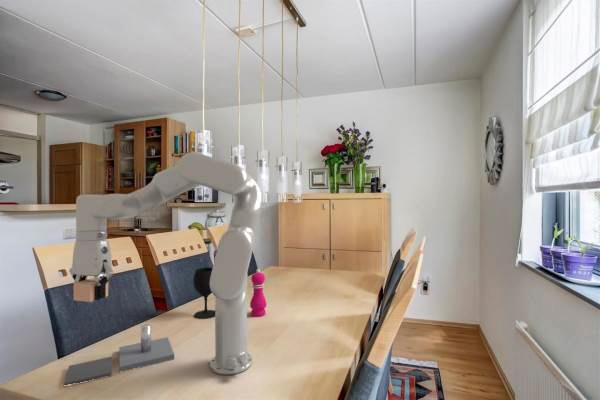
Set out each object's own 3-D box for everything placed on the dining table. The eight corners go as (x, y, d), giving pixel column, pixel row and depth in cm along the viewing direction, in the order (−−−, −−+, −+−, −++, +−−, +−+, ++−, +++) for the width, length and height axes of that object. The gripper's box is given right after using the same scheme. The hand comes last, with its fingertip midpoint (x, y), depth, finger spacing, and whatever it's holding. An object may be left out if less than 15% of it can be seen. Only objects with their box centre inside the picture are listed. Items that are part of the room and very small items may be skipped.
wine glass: (209, 309, 146) (208, 266, 147) (222, 314, 140) (222, 269, 140) (188, 315, 138) (188, 270, 139) (202, 320, 132) (202, 273, 132)
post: (151, 351, 101) (151, 326, 101) (141, 353, 100) (141, 328, 100) (150, 347, 104) (150, 323, 104) (140, 349, 102) (140, 325, 102)
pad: (111, 375, 90) (111, 372, 90) (63, 387, 84) (63, 383, 84) (111, 359, 99) (111, 356, 99) (69, 369, 94) (69, 365, 94)
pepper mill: (263, 317, 135) (263, 271, 135) (247, 316, 136) (247, 270, 136) (268, 312, 142) (268, 267, 142) (253, 311, 143) (253, 267, 143)
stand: (174, 359, 99) (174, 354, 99) (119, 372, 92) (119, 367, 92) (167, 341, 112) (167, 337, 112) (119, 351, 104) (119, 347, 105)
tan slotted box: (108, 296, 94) (108, 279, 94) (90, 302, 89) (90, 283, 89) (92, 294, 96) (92, 277, 96) (73, 300, 90) (73, 282, 90)
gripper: (125, 235, 94) (125, 296, 94) (80, 234, 98) (79, 292, 98) (104, 238, 87) (103, 304, 86) (56, 237, 91) (55, 299, 91)
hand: (91, 297), depth 92 cm, fingers closed on tan slotted box, 5 cm apart
